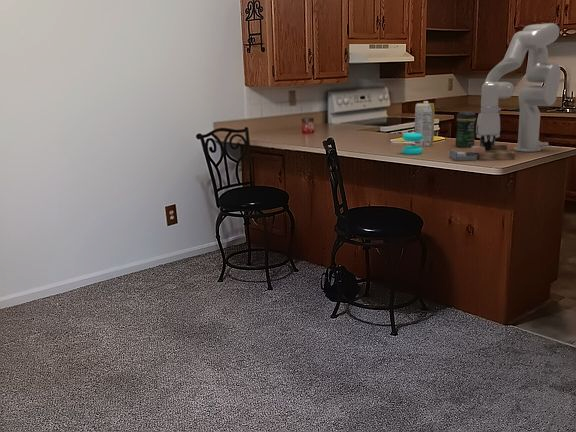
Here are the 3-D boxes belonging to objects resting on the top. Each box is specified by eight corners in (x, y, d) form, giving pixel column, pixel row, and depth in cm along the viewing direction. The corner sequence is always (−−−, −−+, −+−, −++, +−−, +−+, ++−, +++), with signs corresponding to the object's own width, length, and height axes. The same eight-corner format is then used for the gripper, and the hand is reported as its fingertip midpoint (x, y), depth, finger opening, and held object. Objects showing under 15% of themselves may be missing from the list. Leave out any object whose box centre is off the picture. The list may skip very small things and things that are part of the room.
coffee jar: (464, 148, 307) (465, 112, 302) (452, 146, 314) (454, 111, 309) (477, 146, 312) (478, 111, 307) (465, 144, 318) (467, 110, 313)
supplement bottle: (477, 152, 291) (478, 128, 288) (483, 151, 296) (485, 127, 293) (490, 154, 286) (491, 129, 283) (496, 152, 291) (498, 128, 288)
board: (505, 155, 281) (506, 144, 280) (514, 159, 270) (515, 148, 268) (472, 156, 282) (472, 146, 281) (479, 160, 270) (479, 149, 269)
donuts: (411, 132, 301) (427, 133, 294) (411, 151, 304) (426, 153, 296) (398, 133, 296) (413, 135, 288) (398, 153, 298) (412, 155, 290)
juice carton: (434, 144, 323) (435, 100, 316) (429, 146, 316) (430, 101, 310) (418, 144, 328) (419, 100, 322) (413, 146, 321) (413, 101, 315)
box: (470, 156, 282) (470, 148, 281) (477, 160, 270) (477, 151, 269) (449, 157, 282) (449, 148, 281) (455, 161, 271) (456, 152, 270)
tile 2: (481, 151, 278) (482, 145, 277) (484, 152, 273) (485, 147, 272) (471, 151, 278) (471, 146, 277) (473, 152, 273) (474, 147, 272)
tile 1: (452, 152, 278) (452, 157, 279) (455, 153, 273) (455, 159, 274) (463, 151, 278) (463, 157, 278) (466, 153, 273) (466, 158, 274)
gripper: (502, 109, 274) (500, 148, 278) (470, 110, 274) (468, 149, 279) (508, 110, 266) (506, 150, 271) (475, 111, 267) (473, 151, 271)
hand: (487, 149), depth 275 cm, fingers closed
